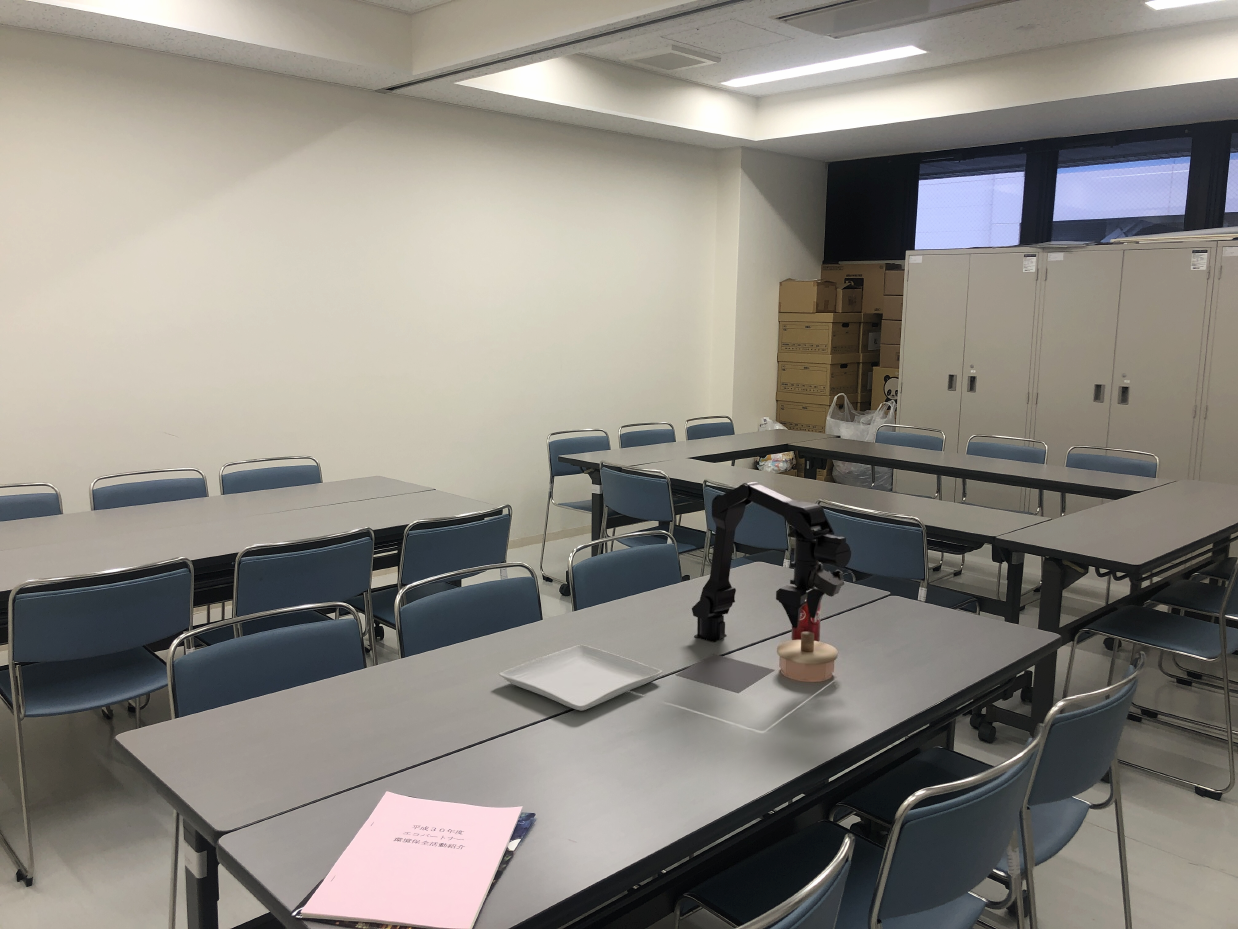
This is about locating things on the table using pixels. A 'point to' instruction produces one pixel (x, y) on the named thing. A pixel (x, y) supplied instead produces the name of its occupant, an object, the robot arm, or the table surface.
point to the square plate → (581, 676)
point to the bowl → (806, 671)
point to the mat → (725, 673)
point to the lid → (807, 650)
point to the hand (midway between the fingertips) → (804, 622)
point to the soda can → (807, 624)
